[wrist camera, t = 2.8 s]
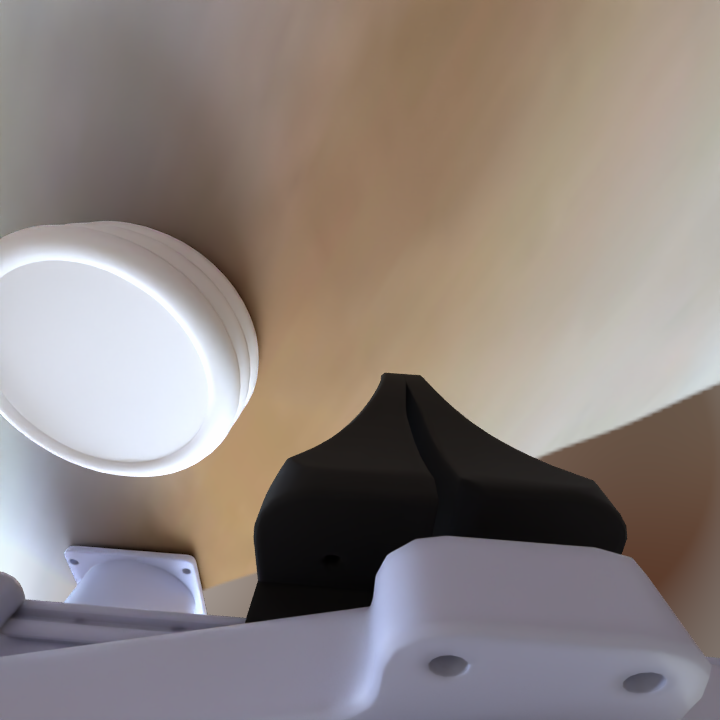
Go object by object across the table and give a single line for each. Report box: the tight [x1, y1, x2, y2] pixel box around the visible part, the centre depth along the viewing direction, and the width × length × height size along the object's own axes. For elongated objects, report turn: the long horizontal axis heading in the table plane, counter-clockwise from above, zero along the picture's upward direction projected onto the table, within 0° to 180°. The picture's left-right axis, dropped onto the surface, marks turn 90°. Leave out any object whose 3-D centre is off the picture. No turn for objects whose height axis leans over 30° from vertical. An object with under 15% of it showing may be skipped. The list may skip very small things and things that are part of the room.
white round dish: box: [0, 221, 259, 477], centre depth 14 cm, size 10×10×4 cm
